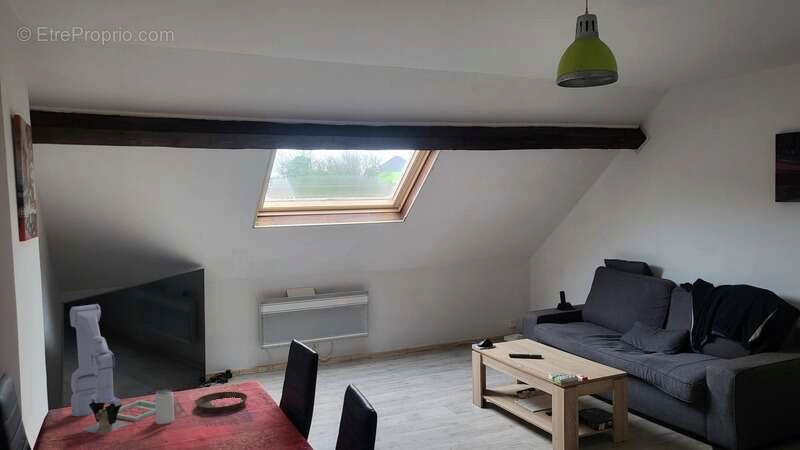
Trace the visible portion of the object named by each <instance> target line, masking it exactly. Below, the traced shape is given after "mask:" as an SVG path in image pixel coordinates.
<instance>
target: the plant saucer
mask: <svg viewBox="0 0 800 450" xmlns="http://www.w3.org/2000/svg"><path fill="white" fill-rule="evenodd" d="M230 397H231V398H232V397H233V398H234V397H235V398H241V399H242V400H243V401H242V402H240V403H237V404H233V405H229V406H222V407H215V405H214V406H212V404H211V402H210V401H212V400H216V399H223V398H230ZM247 399H248V395H247V394H246V393H243V392H241V391H221V392H220V391H219V392H213V393H207V394H205V395H202V396H200V397H198V398H196V399H195V400H194V404H195V406H196V407H197V408H198V409H199V410H200V411H202V412H205V413H210V412H220V413H225V412H224V411H227V412H230V411H229V410H231V411H234V410H236V408H237V409H238V407H239V408H240V407H242V406H243V405H244V404H245V402H246V401H247ZM209 403H210V404H209ZM241 405H242V406H241ZM233 409H234V410H233Z"/></svg>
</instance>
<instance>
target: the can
mask: <svg viewBox="0 0 800 450" xmlns="http://www.w3.org/2000/svg"><path fill="white" fill-rule="evenodd" d="M154 403H155V411H156V413H155V423H156V424H158V425H163V424H164V425H165V424H166V425H167V426H168V425H171V424H173V423H174V421H175V406H174V393H173V390H172V389H169V388H167V389H159V390H157V391H156V393H155V396H154Z"/></svg>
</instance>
